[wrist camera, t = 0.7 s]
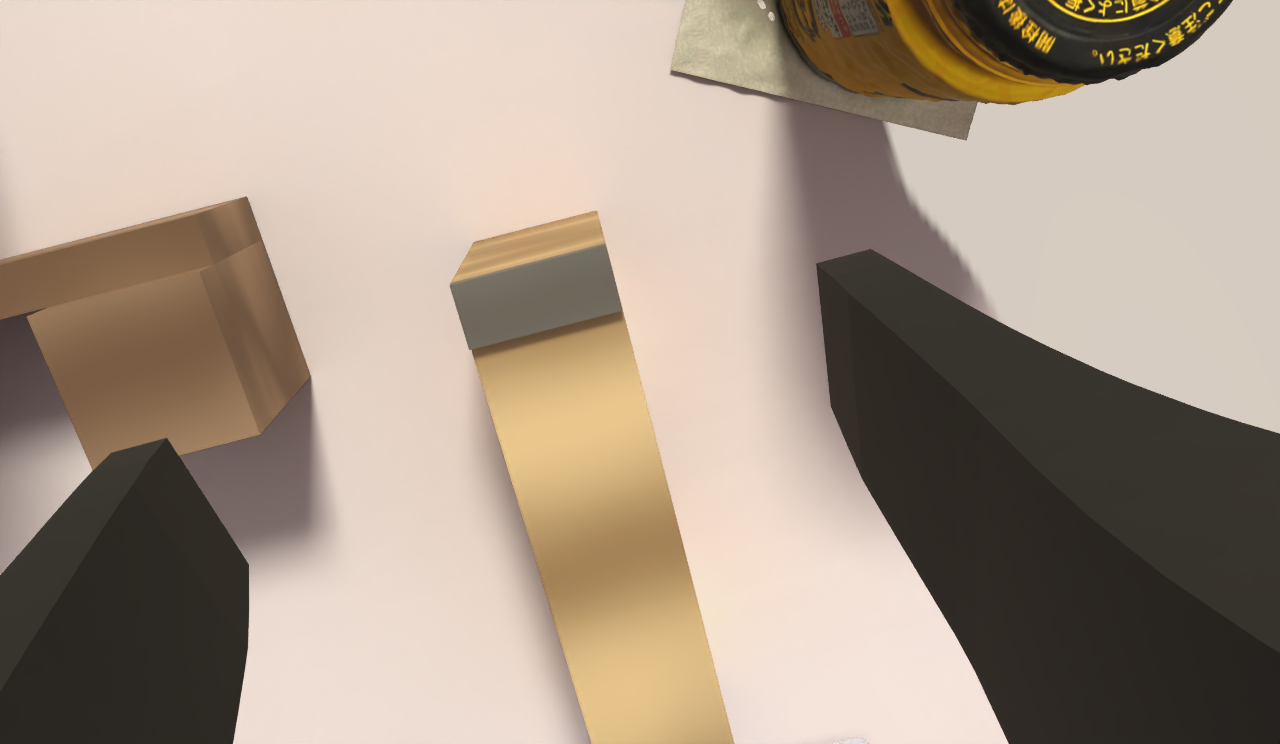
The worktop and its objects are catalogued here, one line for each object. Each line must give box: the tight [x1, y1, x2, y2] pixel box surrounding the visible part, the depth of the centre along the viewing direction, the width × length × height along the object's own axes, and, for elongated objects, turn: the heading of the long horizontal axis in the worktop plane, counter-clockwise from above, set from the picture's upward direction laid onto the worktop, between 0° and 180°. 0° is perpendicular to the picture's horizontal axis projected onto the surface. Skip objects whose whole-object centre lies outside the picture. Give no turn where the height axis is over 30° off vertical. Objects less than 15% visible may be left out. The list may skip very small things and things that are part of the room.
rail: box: [450, 211, 734, 744], centre depth 27 cm, size 15×4×6 cm, turn 14°
